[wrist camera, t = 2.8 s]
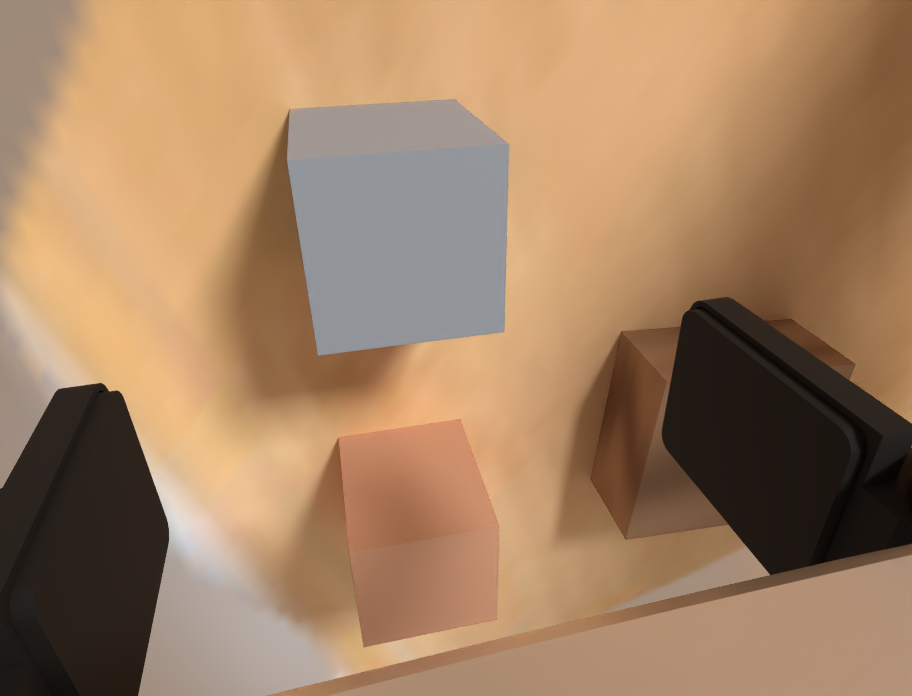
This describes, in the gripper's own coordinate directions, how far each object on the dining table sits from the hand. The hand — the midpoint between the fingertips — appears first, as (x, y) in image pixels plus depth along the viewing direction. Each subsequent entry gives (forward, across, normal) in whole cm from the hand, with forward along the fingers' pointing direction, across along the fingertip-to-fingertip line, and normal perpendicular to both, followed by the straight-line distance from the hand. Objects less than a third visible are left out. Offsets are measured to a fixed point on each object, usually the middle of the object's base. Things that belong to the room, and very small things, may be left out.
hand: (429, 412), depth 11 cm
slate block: (+12, -1, -1) cm, 12 cm away
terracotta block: (+12, -1, +12) cm, 17 cm away
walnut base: (+12, -14, +10) cm, 21 cm away
